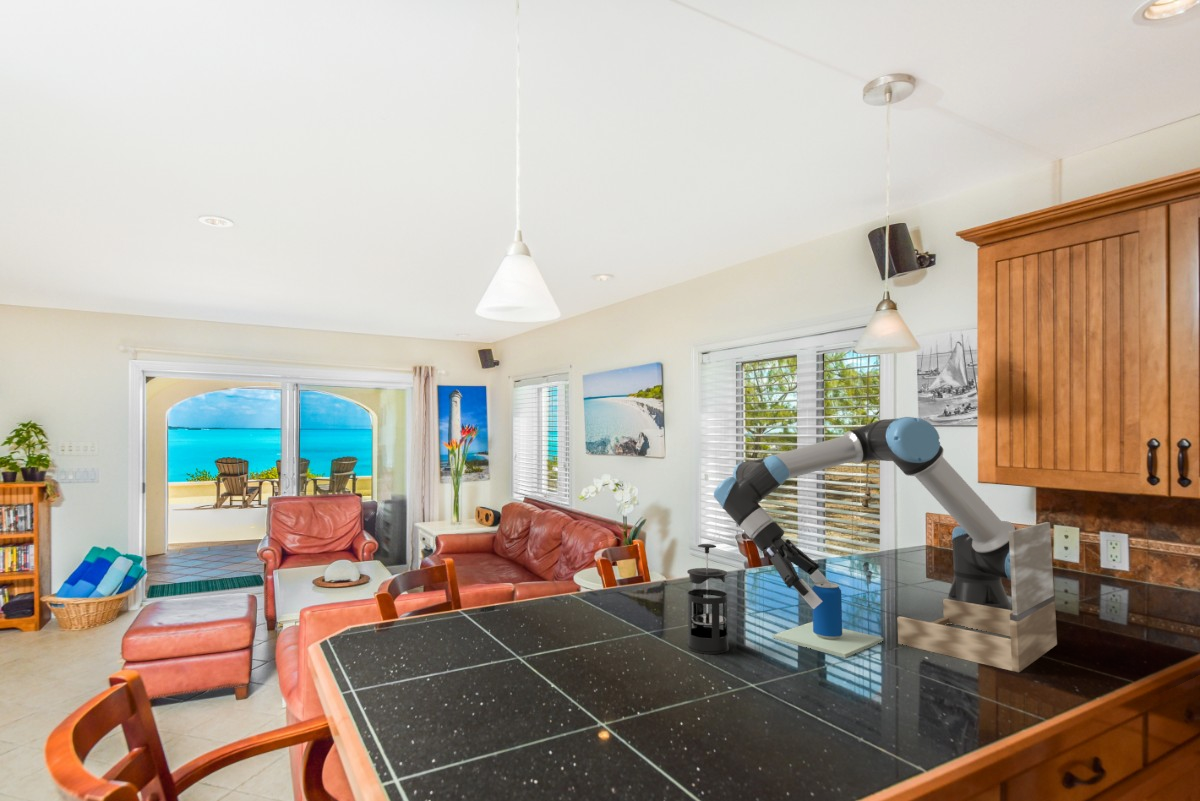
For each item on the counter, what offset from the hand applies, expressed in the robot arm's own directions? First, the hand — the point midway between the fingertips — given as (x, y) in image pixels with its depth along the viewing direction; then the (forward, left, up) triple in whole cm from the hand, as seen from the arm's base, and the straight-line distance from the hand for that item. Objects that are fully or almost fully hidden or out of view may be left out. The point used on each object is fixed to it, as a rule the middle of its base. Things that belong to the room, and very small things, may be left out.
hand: (825, 599), depth 146 cm
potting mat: (0, 0, -9) cm, 9 cm away
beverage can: (0, +1, -9) cm, 9 cm away
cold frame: (+24, +25, -9) cm, 36 cm away
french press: (-15, -26, -10) cm, 31 cm away
